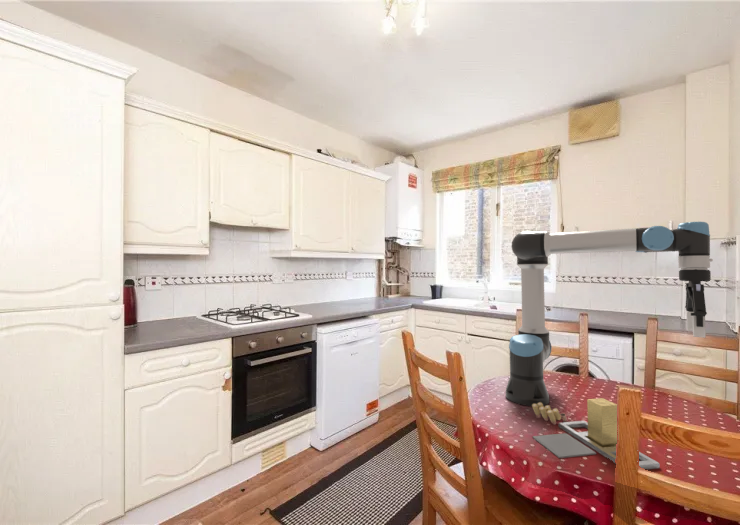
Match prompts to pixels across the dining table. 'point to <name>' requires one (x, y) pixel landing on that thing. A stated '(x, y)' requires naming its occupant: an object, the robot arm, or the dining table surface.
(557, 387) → the dining table surface
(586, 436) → the rail
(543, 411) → the ammunition
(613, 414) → the block
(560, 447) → the mat
